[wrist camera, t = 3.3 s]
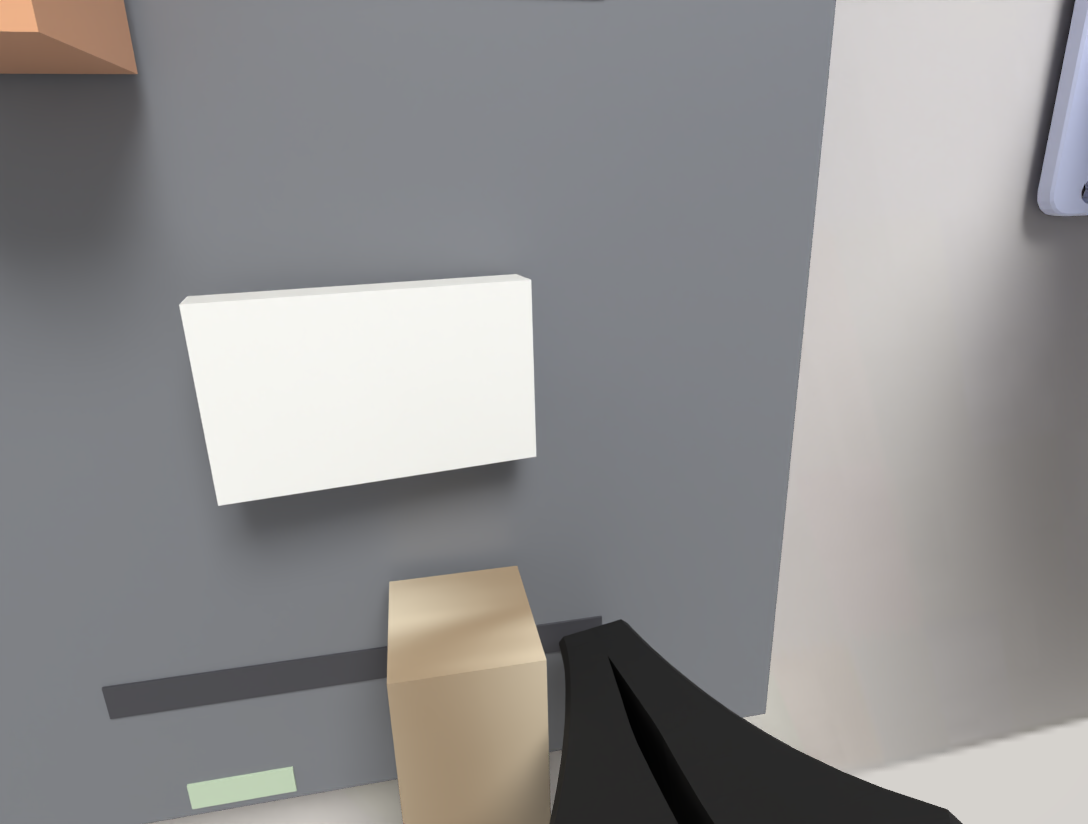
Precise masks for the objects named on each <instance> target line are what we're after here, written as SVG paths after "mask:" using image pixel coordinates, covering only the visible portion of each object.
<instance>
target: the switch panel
mask: <svg viewBox="0 0 1088 824" xmlns="http://www.w3.org/2000/svg"><path fill="white" fill-rule="evenodd" d="M124 5H125V10H126V15H127V20H128V26H129V31H130V36H131V41H132V46H133V51H134V57H135V62H136V67H137V72H138V74H0V824H146V823H152V822H158V821H163V820H169V819H175V818H180V817H186V816H191V815H197V814H203V813H208V812H214V811H220V810H225V809H231V808H236V807H242V806H248V805H253V804H259V803H265V802H270V801H276V800H282V799H287V798H293V797H298V796H304V795H310V794H315V793H321V792H327V791H332V790H338V789H343V788H349V787H355V786H360V785H366V784H372V783H377V782H383V781H389V780H394V779H398V776H397V767H396V759H395V751H394V742H393V734H392V725H391V717H390V708H389V700H388V691H387V653H388V614H389V582H391V581H399V580H407V579H415V578H423V577H431V576H439V575H447V574H455V573H463V572H470V571H478V570H486V569H494V568H502V567H510V566H517V567H518V570H519V573H520V576H521V579H522V583H523V586H524V589H525V592H526V596H527V599H528V602H529V605H530V609H531V612H532V615H533V618H534V621H535V625H536V628H537V631H538V634H539V638H540V641H541V644H542V647H543V650H544V654H545V657H546V661H547V699H548V736H549V752H552V751H557V750H562V746H563V736H564V725H565V671H564V664H563V660H562V655H561V651H560V647H559V642H560V641H561V639H562V638H563V637H564V636H567V635H570V634H574V633H577V632H580V631H584V630H587V629H590V628H594V627H597V626H600V625H603V624H607V623H610V622H613V621H617V620H620V619H622V620H623V621H625V622H627V623H628V624H629V625H630V626H631V627H632V628H633V629H634V630H635V631H636V632H637V633H638V634H639V635H640V636H641V637H642V638H643V639H644V640H645V641H646V642H647V643H648V644H649V645H650V646H651V647H652V648H653V649H654V650H655V651H656V652H658V653H659V654H660V655H661V656H662V657H663V658H664V659H665V660H666V661H668V662H669V663H670V664H671V665H672V666H673V667H675V668H676V669H677V670H678V671H680V672H681V673H682V674H683V675H684V676H686V677H687V678H688V679H689V680H691V681H692V682H693V683H694V684H695V685H697V686H698V687H699V688H701V689H702V690H703V691H705V692H706V693H707V694H709V695H710V696H711V697H713V698H714V699H716V700H717V701H718V702H720V703H721V704H723V705H724V706H725V707H727V708H728V709H730V710H731V711H733V712H734V713H736V714H737V715H739V716H740V717H742V718H743V717H749V716H755V715H760V714H765V712H766V702H767V692H768V682H769V671H770V661H771V651H772V641H773V631H774V621H775V611H776V601H777V591H778V581H779V571H780V560H781V550H782V540H783V530H784V520H785V510H786V500H787V490H788V480H789V470H790V459H791V449H792V439H793V429H794V419H795V409H796V399H797V389H798V379H799V369H800V359H801V348H802V338H803V328H804V318H805V308H806V298H807V288H808V278H809V268H810V258H811V248H812V237H813V227H814V217H815V207H816V197H817V187H818V177H819V167H820V157H821V147H822V137H823V126H824V116H825V106H826V96H827V86H828V76H829V66H830V56H831V46H832V36H833V26H834V15H835V5H836V0H124ZM509 274H517V275H520V276H523V277H525V278H528V279H531V289H532V324H533V358H534V393H535V427H536V457H530V458H524V459H517V460H511V461H505V462H498V463H492V464H485V465H479V466H472V467H466V468H459V469H453V470H446V471H440V472H434V473H427V474H421V475H414V476H408V477H401V478H395V479H388V480H382V481H375V482H369V483H363V484H356V485H350V486H343V487H337V488H330V489H324V490H317V491H311V492H304V493H298V494H292V495H285V496H279V497H272V498H266V499H259V500H253V501H246V502H240V503H233V504H227V505H221V506H218V503H217V497H216V492H215V487H214V482H213V477H212V472H211V466H210V461H209V456H208V451H207V446H206V441H205V436H204V430H203V425H202V420H201V415H200V410H199V405H198V400H197V394H196V389H195V384H194V379H193V374H192V369H191V363H190V358H189V353H188V348H187V343H186V338H185V333H184V327H183V322H182V317H181V312H180V307H179V304H180V303H181V302H182V301H183V300H184V299H185V298H186V297H187V296H198V295H213V294H228V293H243V292H258V291H272V290H287V289H302V288H317V287H332V286H346V285H361V284H376V283H391V282H405V281H420V280H435V279H450V278H465V277H479V276H494V275H509Z"/></svg>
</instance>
